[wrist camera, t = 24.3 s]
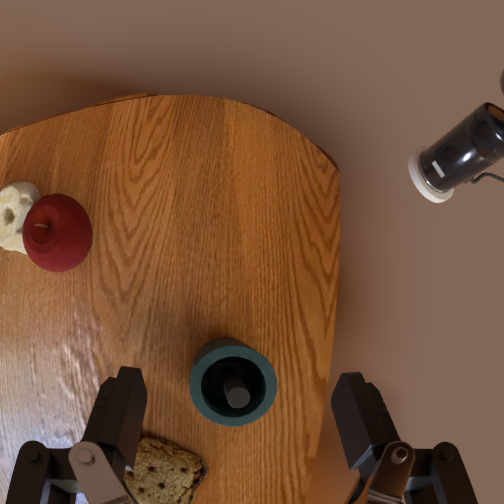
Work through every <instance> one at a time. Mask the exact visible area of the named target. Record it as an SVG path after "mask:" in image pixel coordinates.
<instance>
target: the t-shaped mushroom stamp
mask: <svg viewBox="0 0 504 504" xmlns="http://www.w3.org/2000/svg"><path fill="white" fill-rule="evenodd" d="M209 379H210V385H223V388H224V391H225V395H226V398H227V401H228V403H229V404H230V405H231V406H232V407H235V408H242V407H244V406H246V405H247V404H248V403H249V400H250V394H249V392H248V390H247V389H246V387H245V386H244V385H245V384H246V381H245V361H244V360H217V361H216V362H214V363H213V364H211V365H210V366H209Z"/></svg>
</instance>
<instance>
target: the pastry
mask: <svg viewBox="0 0 504 504" xmlns="http://www.w3.org/2000/svg"><path fill="white" fill-rule="evenodd" d="M208 470H209V468H208V464H207V463H206V462H205V460H203V459H202V458H201V457H199V456H197V455H195V454H192V453H190V452H187V451H186V450H181V449H179V448H178V447H177V446H175V445H174V444H172V443H170V442H168V441H166V440H161V439H159V438H156V437H153V436H147V437H145V438H143V437H142V436H140V438H139V443H138V448H137V453H136V459H135V464H134V470H133V471H132V470H127V469H125V473H124V480H125V481H126V483H127V485H128V486H129V488H130V490H131V491H132V493H133V494H134V496H135V497H136V499H137V500H138V502H139V503H140V504H191V503H192V502H193V500H194V498H195V495H196V493H197V491H198V488H199V487H200V485H201V484H202V482H203V481H204V479H205V478H206V476H207V474H208Z"/></svg>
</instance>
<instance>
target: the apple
mask: <svg viewBox="0 0 504 504" xmlns="http://www.w3.org/2000/svg"><path fill="white" fill-rule="evenodd" d="M22 239H23V244H24V248H25V250H26V253H27V254H28V256H29V257H30V259H31V260H32V261H33V262H34V263H35V264H36V265H38V266H39V267H41V268H43V269H45V270H48V271H52V272H64V271H67V270H70V269H73V268H74V267H76V266H77V265H79V264H80V263H81V262H82V261H83V260H84V259H85V258H86V256H87V254H88V253H89V250H90V248H91V244H92V227H91V223H90V220H89V217H88V215H87V213H86V212H85V210H84V208H83V207H82V206H81V205H80V204H79V203H78V202H77V201H76V200H74V199H73V198H71V197H68V196H66V195H63V194H52V195H47V196H44V197H42V198H41V199H39V200H38V201H37V202H35V203H34V204H33V206H32V207H31V208H30V210H29V211H28V213H27V215H26V218H25V220H24V224H23V229H22Z"/></svg>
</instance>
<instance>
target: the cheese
mask: <svg viewBox="0 0 504 504" xmlns="http://www.w3.org/2000/svg"><path fill="white" fill-rule="evenodd" d="M39 199H41V196H40V192H39V190H38V188H37V187H36V185H33V184H32V183H30V182H21V181H17V182H15V183H11V184H7V185H6V186H5V187H3V188H2V189H0V246H1V247H3V248H4V249H5V250H9V251H13V250H16V251H19V252H21V253H23V254H27V253H26V250H25V248H24V244H23V239H22V229H23V224H24V220H25V218H26V215H27V213H28V211H29V210H30V208H31V207H32V206H33V204H34V203H35V202H37V201H38V200H39Z"/></svg>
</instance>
